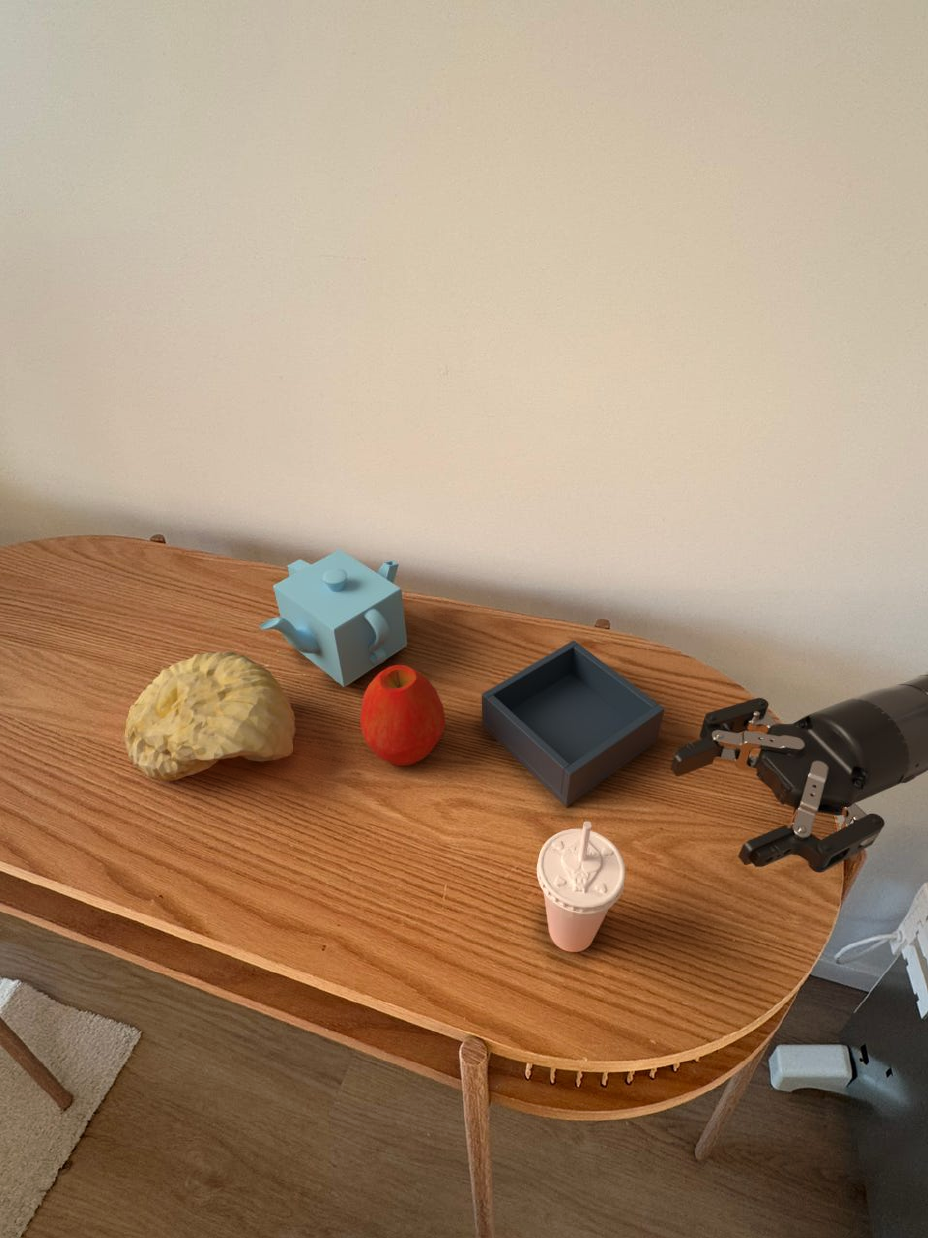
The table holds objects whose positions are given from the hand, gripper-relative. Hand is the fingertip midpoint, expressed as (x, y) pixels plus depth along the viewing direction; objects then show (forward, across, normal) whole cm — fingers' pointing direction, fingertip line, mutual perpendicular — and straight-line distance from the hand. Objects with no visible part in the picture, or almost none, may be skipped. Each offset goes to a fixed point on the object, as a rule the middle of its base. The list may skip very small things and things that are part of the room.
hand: (707, 808), depth 55 cm
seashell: (+34, -30, +11) cm, 47 cm away
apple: (+17, -23, +11) cm, 31 cm away
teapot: (+19, -39, +11) cm, 45 cm away
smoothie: (+11, 0, +10) cm, 15 cm away
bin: (+1, -18, +10) cm, 21 cm away
